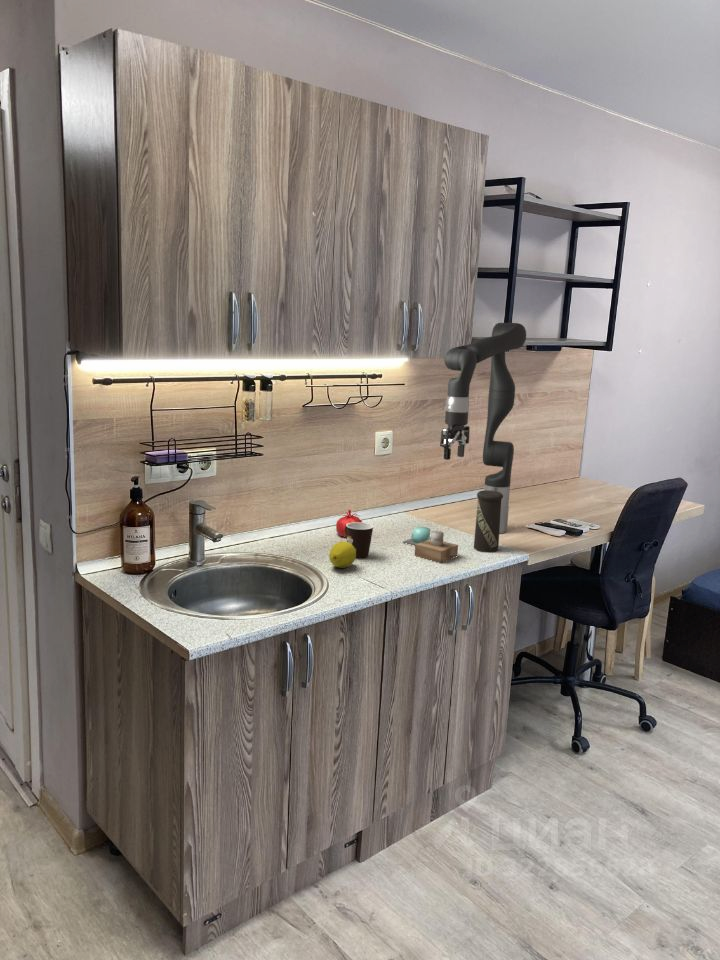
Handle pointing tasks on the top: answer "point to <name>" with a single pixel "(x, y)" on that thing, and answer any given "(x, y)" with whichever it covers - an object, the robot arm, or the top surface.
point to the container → (488, 521)
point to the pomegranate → (346, 522)
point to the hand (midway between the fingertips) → (453, 458)
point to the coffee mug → (359, 537)
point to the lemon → (342, 554)
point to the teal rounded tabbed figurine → (421, 534)
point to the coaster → (410, 542)
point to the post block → (436, 548)
